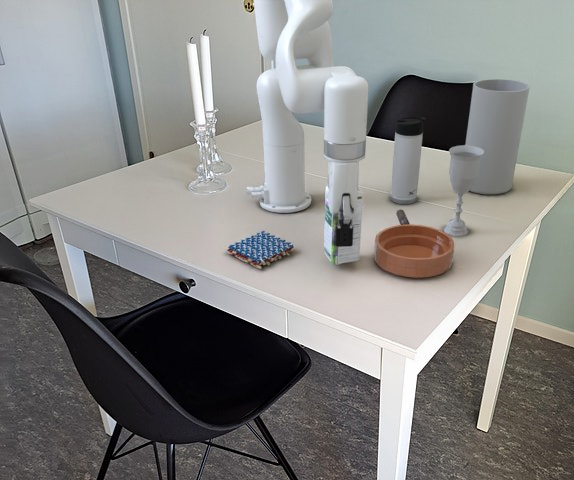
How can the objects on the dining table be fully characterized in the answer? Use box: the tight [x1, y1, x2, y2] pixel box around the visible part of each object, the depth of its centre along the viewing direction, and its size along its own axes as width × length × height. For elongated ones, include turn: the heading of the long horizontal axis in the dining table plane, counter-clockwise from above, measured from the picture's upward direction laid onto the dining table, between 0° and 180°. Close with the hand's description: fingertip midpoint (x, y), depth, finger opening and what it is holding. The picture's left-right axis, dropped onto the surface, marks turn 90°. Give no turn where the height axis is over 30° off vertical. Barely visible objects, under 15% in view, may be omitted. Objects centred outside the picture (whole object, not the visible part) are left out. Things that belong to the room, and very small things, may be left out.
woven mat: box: [226, 230, 295, 271], centre depth 125 cm, size 10×11×2 cm
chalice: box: [443, 144, 484, 237], centre depth 128 cm, size 7×7×18 cm
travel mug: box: [390, 116, 426, 205], centre depth 143 cm, size 6×7×20 cm
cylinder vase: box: [464, 78, 531, 196], centre depth 147 cm, size 12×12×25 cm
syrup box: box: [323, 185, 364, 266], centre depth 117 cm, size 6×6×14 cm
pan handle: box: [395, 208, 411, 225], centre depth 129 cm, size 9×2×2 cm, turn 1°
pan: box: [373, 223, 455, 278], centre depth 120 cm, size 15×15×4 cm
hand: (342, 236), depth 118 cm, fingers closed on syrup box, 6 cm apart
